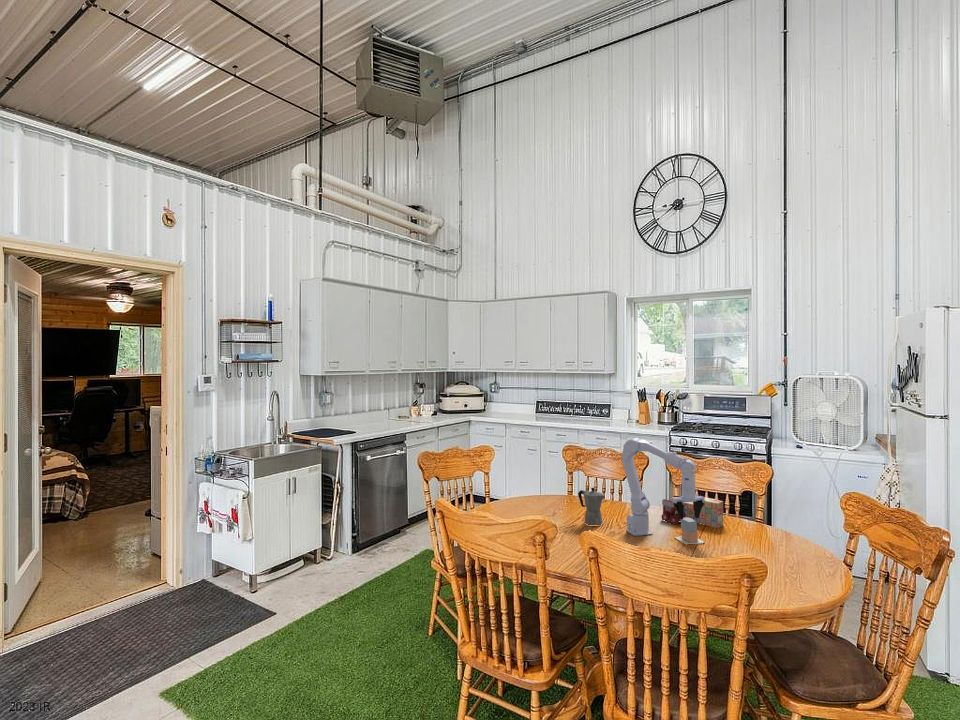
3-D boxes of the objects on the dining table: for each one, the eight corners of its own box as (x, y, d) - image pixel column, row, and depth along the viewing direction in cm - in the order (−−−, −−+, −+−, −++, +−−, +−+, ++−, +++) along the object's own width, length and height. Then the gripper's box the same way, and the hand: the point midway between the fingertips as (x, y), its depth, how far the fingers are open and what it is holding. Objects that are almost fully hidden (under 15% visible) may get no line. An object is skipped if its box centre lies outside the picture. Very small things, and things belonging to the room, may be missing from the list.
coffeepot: (610, 524, 249) (609, 488, 249) (599, 529, 242) (599, 491, 243) (584, 518, 260) (583, 483, 260) (573, 522, 254) (572, 486, 254)
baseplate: (686, 545, 219) (685, 543, 219) (674, 538, 228) (674, 537, 228) (704, 543, 221) (704, 542, 221) (692, 537, 230) (692, 535, 230)
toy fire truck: (680, 526, 245) (679, 504, 245) (658, 520, 256) (658, 499, 256) (688, 523, 249) (688, 502, 249) (667, 517, 259) (666, 497, 260)
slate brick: (688, 531, 221) (688, 521, 221) (680, 527, 227) (680, 517, 227) (696, 531, 222) (696, 521, 222) (689, 527, 228) (688, 517, 228)
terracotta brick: (689, 542, 221) (689, 532, 221) (681, 537, 227) (681, 528, 227) (697, 541, 221) (697, 531, 222) (689, 537, 227) (689, 527, 227)
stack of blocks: (676, 518, 258) (675, 494, 258) (682, 516, 262) (681, 492, 262) (717, 528, 241) (717, 503, 241) (723, 526, 245) (723, 500, 245)
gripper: (678, 490, 220) (679, 521, 219) (708, 488, 222) (709, 519, 222) (669, 486, 226) (670, 517, 226) (699, 485, 229) (699, 515, 229)
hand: (688, 518), depth 224 cm, fingers open, 7 cm apart
